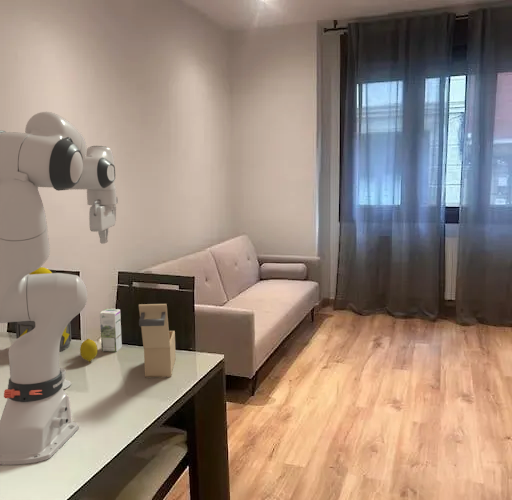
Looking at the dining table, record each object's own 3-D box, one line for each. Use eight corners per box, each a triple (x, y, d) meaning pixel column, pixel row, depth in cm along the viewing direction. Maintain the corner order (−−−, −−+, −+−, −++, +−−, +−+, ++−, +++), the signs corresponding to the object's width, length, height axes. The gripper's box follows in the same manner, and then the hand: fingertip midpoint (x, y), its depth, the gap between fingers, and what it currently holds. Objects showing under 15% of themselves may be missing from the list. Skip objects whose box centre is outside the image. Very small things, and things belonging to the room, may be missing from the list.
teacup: (58, 395, 147) (57, 379, 146) (27, 392, 149) (26, 377, 148) (77, 381, 157) (76, 367, 156) (48, 379, 159) (47, 365, 158)
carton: (171, 377, 159) (170, 346, 158) (145, 377, 159) (143, 346, 158) (175, 359, 175) (174, 330, 174) (152, 359, 175) (151, 331, 173)
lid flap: (170, 346, 158) (168, 359, 153) (143, 346, 157) (141, 359, 152) (166, 303, 150) (164, 315, 145) (138, 304, 150) (136, 316, 144)
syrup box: (122, 347, 188) (120, 308, 186) (116, 352, 182) (114, 312, 180) (107, 346, 189) (105, 308, 187) (101, 351, 183) (99, 312, 181)
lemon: (94, 364, 171) (93, 341, 169) (78, 364, 171) (77, 341, 170) (100, 358, 176) (99, 336, 175) (84, 358, 176) (82, 336, 175)
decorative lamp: (82, 342, 194) (78, 264, 190) (48, 358, 176) (43, 273, 172) (41, 337, 200) (36, 261, 195) (4, 353, 182) (-2, 270, 178)
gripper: (104, 200, 150) (106, 247, 152) (118, 197, 170) (120, 239, 172) (82, 200, 150) (85, 247, 152) (99, 198, 170) (101, 239, 172)
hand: (104, 243), depth 162 cm, fingers closed
